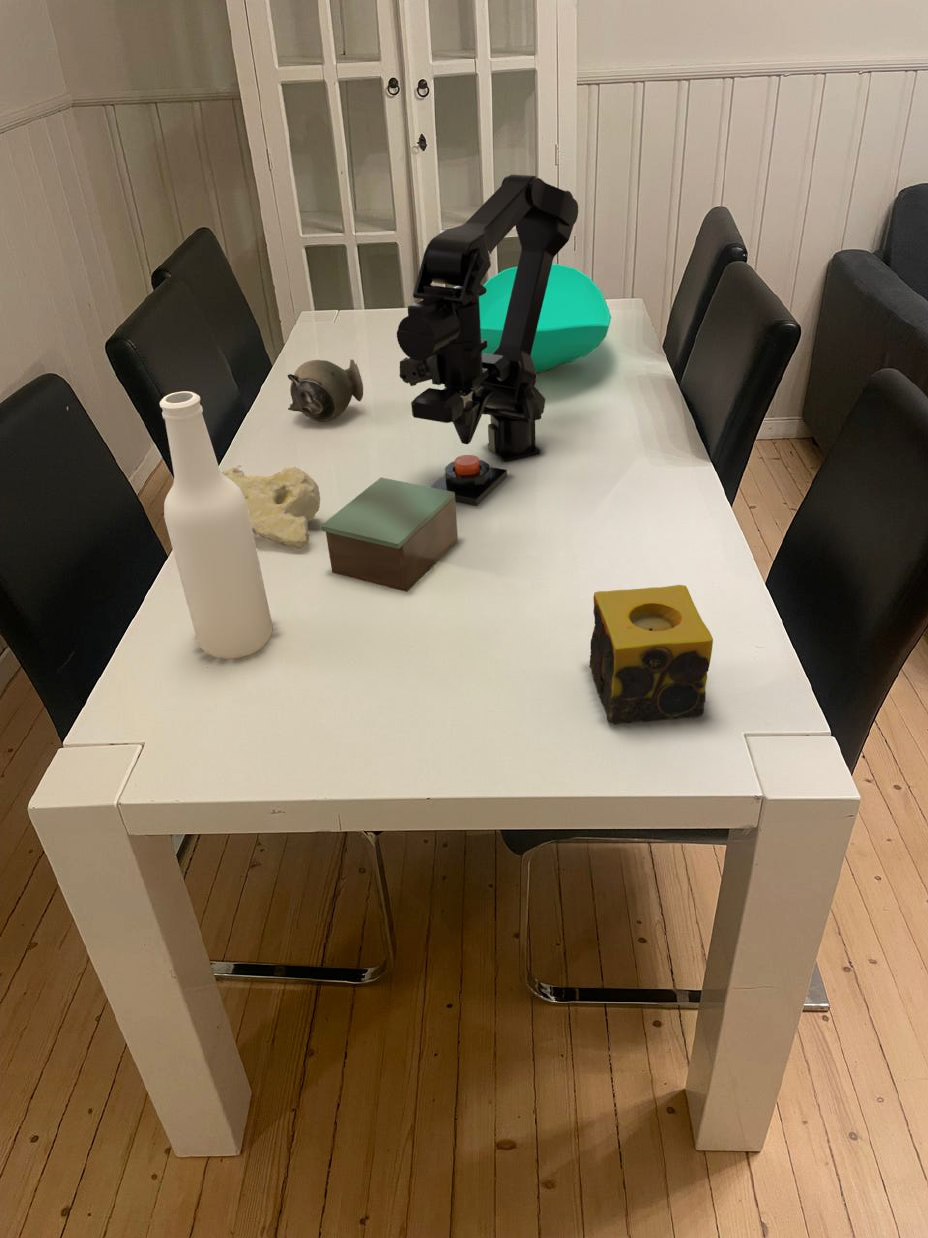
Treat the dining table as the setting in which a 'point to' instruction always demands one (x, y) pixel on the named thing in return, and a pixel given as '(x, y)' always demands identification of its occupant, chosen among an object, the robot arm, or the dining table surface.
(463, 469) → the button
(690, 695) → the candle
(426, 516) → the sage green panel
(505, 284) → the table top decor
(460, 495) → the black button base
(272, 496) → the animal skull
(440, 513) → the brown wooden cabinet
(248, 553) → the alcohol
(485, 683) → the dining table surface
